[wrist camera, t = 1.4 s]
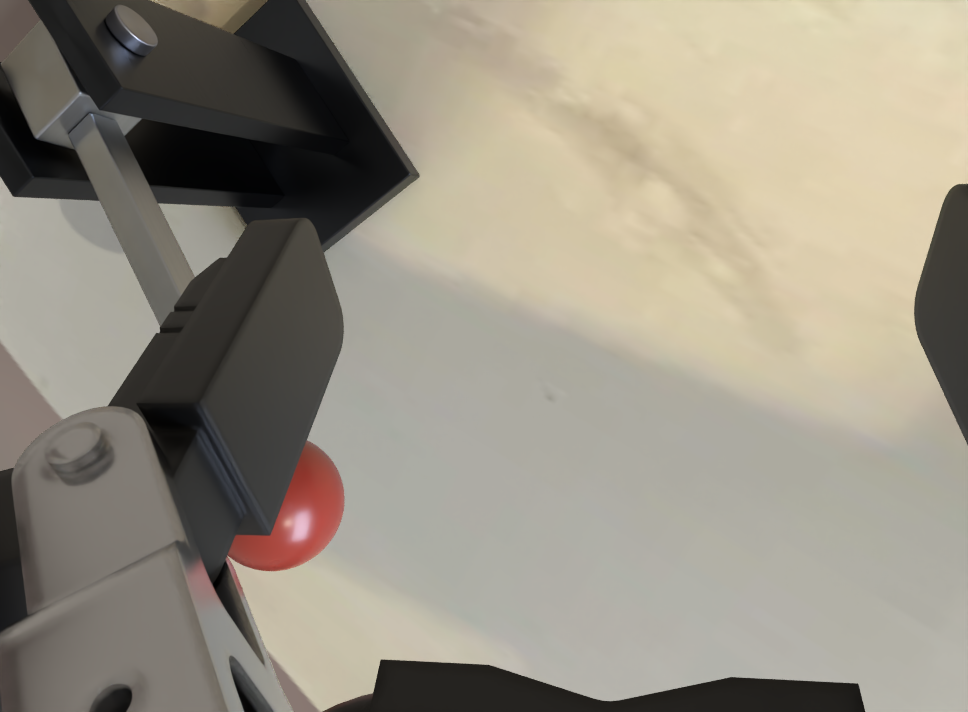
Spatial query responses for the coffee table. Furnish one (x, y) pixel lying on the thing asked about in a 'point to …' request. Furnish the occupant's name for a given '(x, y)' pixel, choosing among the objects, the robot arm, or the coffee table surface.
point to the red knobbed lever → (159, 269)
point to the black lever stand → (217, 114)
